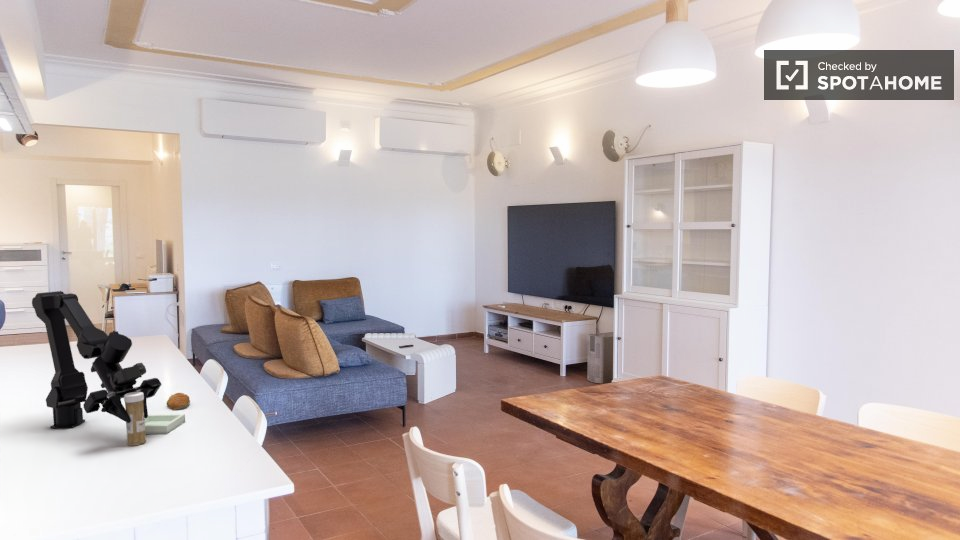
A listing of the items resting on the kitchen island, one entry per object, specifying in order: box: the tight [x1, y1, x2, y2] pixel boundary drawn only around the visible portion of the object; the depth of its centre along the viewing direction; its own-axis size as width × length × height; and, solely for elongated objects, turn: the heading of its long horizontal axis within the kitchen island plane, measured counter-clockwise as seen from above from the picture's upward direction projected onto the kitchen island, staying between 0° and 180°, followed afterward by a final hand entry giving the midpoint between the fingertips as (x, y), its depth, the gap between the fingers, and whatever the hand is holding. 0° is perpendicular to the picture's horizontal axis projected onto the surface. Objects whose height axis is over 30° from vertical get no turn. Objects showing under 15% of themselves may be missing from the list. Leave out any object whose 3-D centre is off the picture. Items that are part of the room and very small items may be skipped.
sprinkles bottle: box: [123, 392, 147, 447], centre depth 171 cm, size 5×5×13 cm
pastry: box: [166, 392, 191, 411], centre depth 206 cm, size 9×7×4 cm
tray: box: [144, 413, 186, 435], centre depth 185 cm, size 11×11×2 cm
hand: (138, 419), depth 170 cm, fingers closed on sprinkles bottle, 4 cm apart
